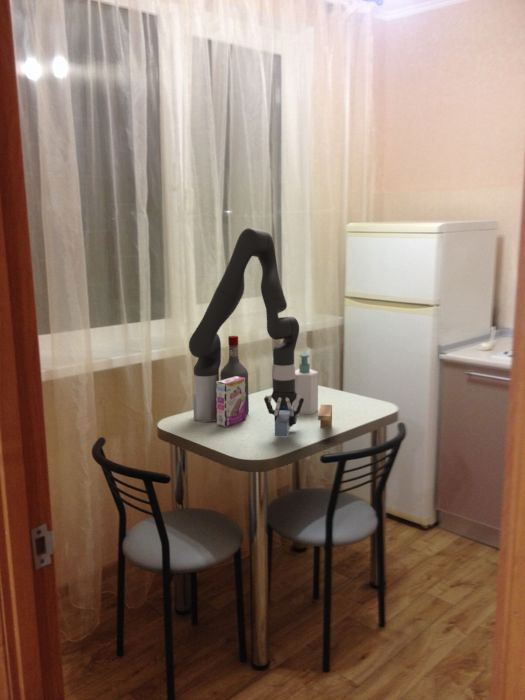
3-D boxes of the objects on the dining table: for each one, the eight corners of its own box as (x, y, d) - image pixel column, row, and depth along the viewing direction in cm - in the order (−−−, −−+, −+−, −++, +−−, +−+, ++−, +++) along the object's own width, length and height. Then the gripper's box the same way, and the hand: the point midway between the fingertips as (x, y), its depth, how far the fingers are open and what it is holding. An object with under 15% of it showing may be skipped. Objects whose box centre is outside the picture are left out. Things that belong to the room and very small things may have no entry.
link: (278, 417, 227) (277, 405, 226) (297, 417, 226) (297, 405, 225) (270, 435, 208) (270, 422, 207) (291, 436, 207) (291, 423, 206)
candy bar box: (226, 428, 229) (225, 383, 225) (216, 425, 232) (214, 381, 229) (246, 420, 237) (246, 377, 234) (236, 417, 240) (235, 375, 237)
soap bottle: (318, 407, 252) (318, 352, 247) (317, 414, 243) (317, 357, 239) (291, 406, 253) (291, 352, 248) (290, 413, 244) (290, 357, 240)
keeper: (318, 438, 217) (318, 415, 215) (320, 426, 229) (320, 404, 228) (329, 438, 216) (330, 416, 215) (331, 426, 229) (332, 404, 227)
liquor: (232, 408, 252) (230, 333, 245) (251, 412, 246) (250, 335, 240) (218, 414, 244) (216, 337, 238) (237, 418, 239) (235, 339, 233)
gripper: (306, 374, 216) (306, 422, 220) (264, 373, 218) (265, 421, 222) (304, 379, 209) (304, 430, 212) (261, 379, 211) (262, 428, 214)
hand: (284, 425), depth 217 cm, fingers closed on link, 4 cm apart
